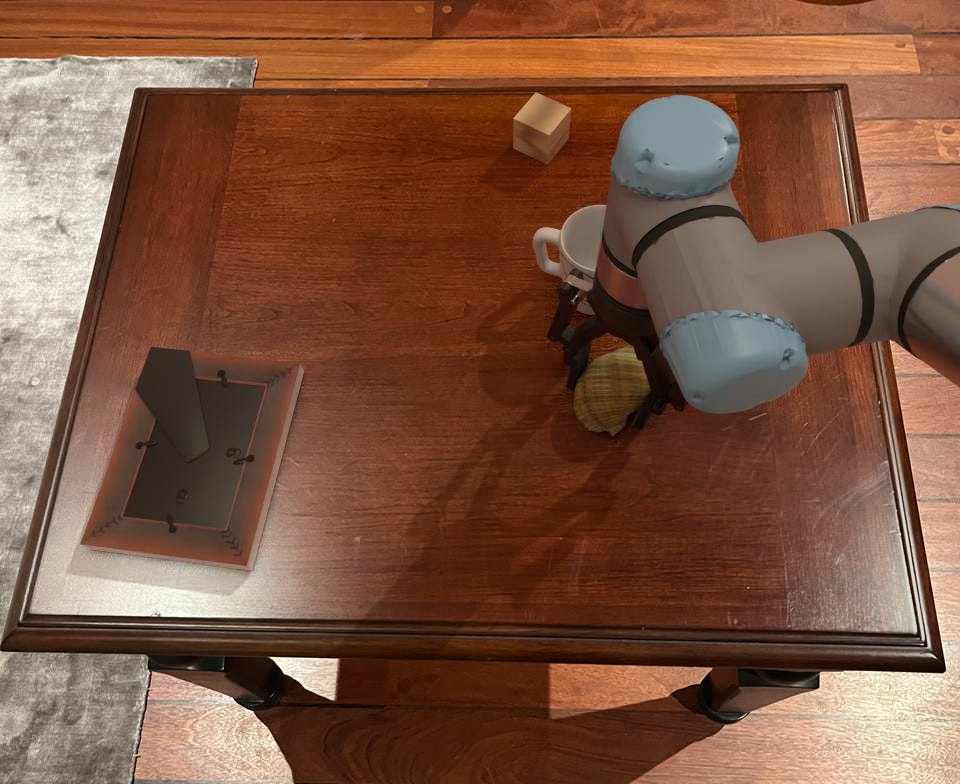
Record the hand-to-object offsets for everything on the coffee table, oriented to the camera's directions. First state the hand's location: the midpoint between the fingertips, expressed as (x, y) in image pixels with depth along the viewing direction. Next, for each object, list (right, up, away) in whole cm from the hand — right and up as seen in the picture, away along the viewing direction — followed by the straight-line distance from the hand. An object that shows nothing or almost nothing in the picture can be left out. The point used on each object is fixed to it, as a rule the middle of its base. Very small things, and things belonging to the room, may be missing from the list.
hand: (610, 398), depth 83 cm
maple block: (-6, +31, +16) cm, 36 cm away
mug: (-2, +12, +7) cm, 14 cm away
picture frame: (-42, -6, -1) cm, 42 cm away
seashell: (0, 0, 0) cm, 1 cm away
